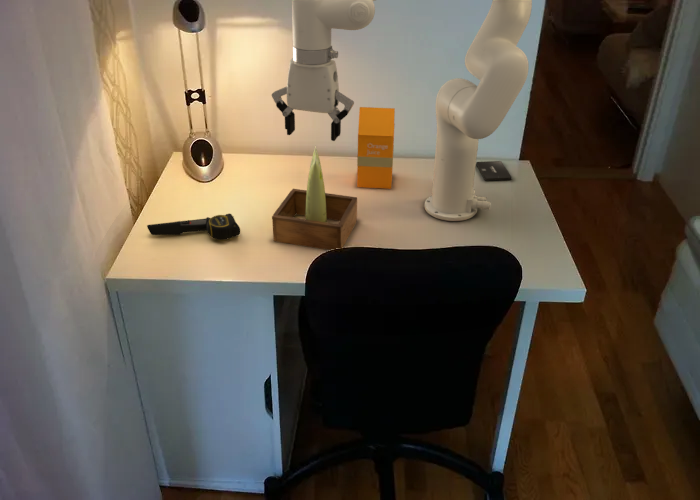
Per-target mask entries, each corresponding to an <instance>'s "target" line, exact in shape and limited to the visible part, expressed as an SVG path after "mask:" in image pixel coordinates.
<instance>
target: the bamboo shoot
mask: <svg viewBox="0 0 700 500" xmlns="http://www.w3.org/2000/svg"><path fill="white" fill-rule="evenodd" d="M324 181H325V180H324V175H323V170H322V164H321V159H320V155H319V152H318V150H317V145H315V146H314V150H313V153H312V157H311V161H310V165H309V171H308V176H307V183H306V190H307V194H306V216H305V219H306V220H313V221H320V222H327V223H328V219H327V215H326V198H325V193H326V190H325V189H326V188H325V182H324Z"/></svg>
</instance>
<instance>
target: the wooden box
mask: <svg viewBox="0 0 700 500" xmlns="http://www.w3.org/2000/svg"><path fill="white" fill-rule="evenodd" d="M306 194H307V189H306V190H305V189H299V188H292V189H291V190H290V191H289V193H287V195H286V197H284V199H283V201H282V202H281V203H280V204H279V206H278V207H277V209H276V210H275V212H273V214H272V216H271V220H272V221H271V223H272V237H273V239H272V240H273V242H277V243H283V244H288V245H289V244H290V245H296V246H302V247H309V248H314V249H321V250H329V251H332V250H331V249H336V248H342V247H343V248H344V246H345V245H346V242H347V241H348V239H349V237H350V235H351V233H352V232H353V229H354V227H355V226H356V224H357V222H358V196H357V197H356V196H350V195H342V194H336V193H328V192H325V198H326V215H327V220H334V221H338V223H334V222H333V223H332V222H328V221H327V222H320V221H313V220H306V218H299V217H295V216H296V215H299V216H305V217H306ZM343 248H342V249H343Z"/></svg>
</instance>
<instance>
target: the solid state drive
mask: <svg viewBox="0 0 700 500" xmlns="http://www.w3.org/2000/svg"><path fill="white" fill-rule="evenodd" d="M476 167H477V168H478V171H479V172H480V174H481V175H482V177H483V179H484V180H485V181H487V182H489V181H511V180H512V178H513V176H512V175H511V173H510V172H509V171H508V169H507V167H506V166H505V164H504V162H502V161H501V160H489V161H476Z"/></svg>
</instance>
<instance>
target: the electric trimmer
mask: <svg viewBox="0 0 700 500" xmlns="http://www.w3.org/2000/svg"><path fill="white" fill-rule="evenodd" d="M210 218H211V217H208V216H207V217H206V218H197V219H188V220H182V221H181V220H178V221H170V222H161V223H152V224H147V225H146V228H147V229H148V230H147V231H148V232H149V233H150V235H152V236H181V235H183V234H185V233H197V232H207V222H208V220H209V219H210Z"/></svg>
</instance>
